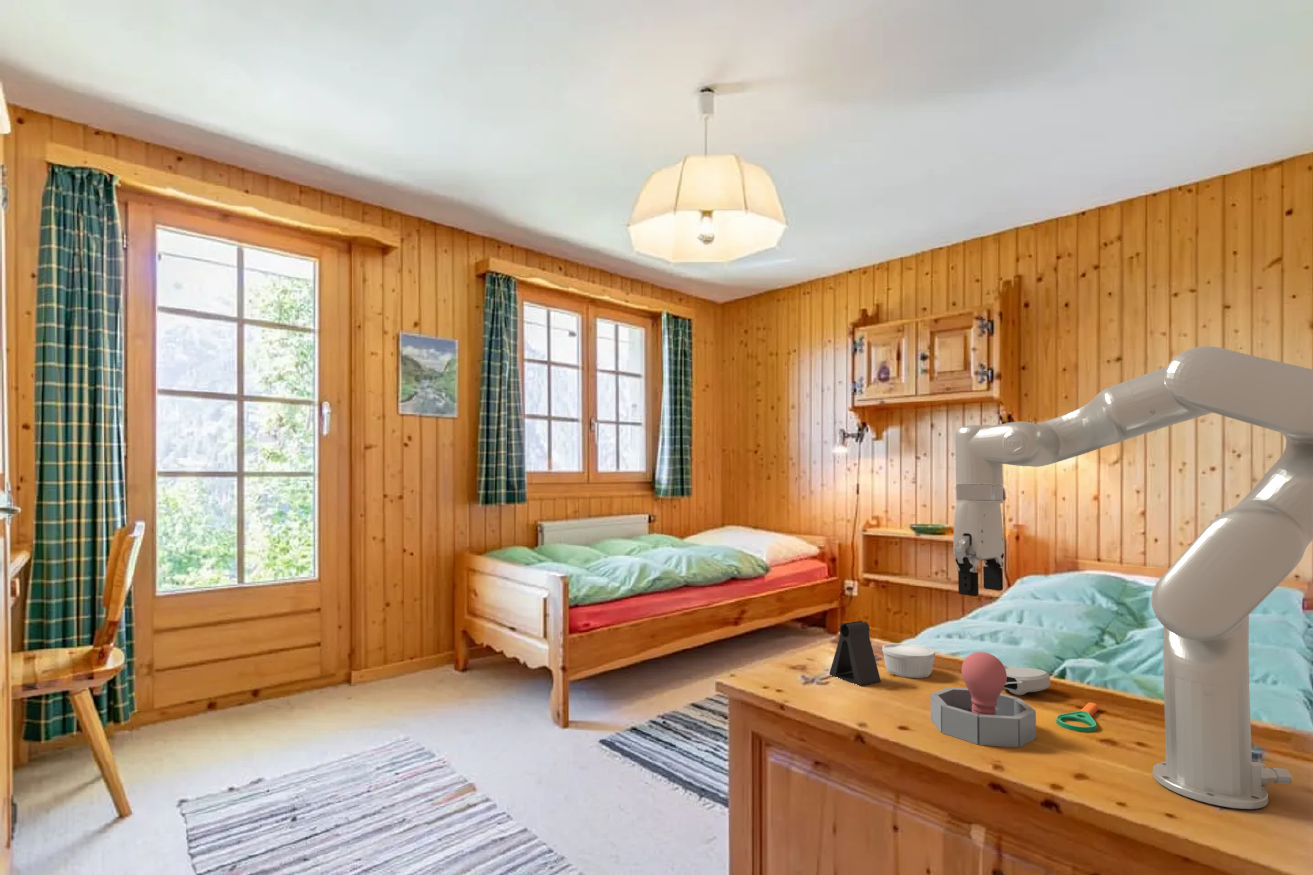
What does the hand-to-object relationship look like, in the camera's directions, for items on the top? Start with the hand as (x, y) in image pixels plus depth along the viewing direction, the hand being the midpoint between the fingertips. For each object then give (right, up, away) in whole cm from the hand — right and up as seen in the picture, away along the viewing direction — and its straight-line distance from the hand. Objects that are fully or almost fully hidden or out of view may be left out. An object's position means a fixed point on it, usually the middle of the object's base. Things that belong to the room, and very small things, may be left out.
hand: (981, 592), depth 117 cm
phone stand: (-14, -25, +27) cm, 39 cm away
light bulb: (0, -23, -1) cm, 23 cm away
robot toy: (+17, -26, +22) cm, 38 cm away
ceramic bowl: (0, -24, -1) cm, 24 cm away
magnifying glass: (+21, -25, +4) cm, 32 cm away
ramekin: (-1, -26, +32) cm, 41 cm away
